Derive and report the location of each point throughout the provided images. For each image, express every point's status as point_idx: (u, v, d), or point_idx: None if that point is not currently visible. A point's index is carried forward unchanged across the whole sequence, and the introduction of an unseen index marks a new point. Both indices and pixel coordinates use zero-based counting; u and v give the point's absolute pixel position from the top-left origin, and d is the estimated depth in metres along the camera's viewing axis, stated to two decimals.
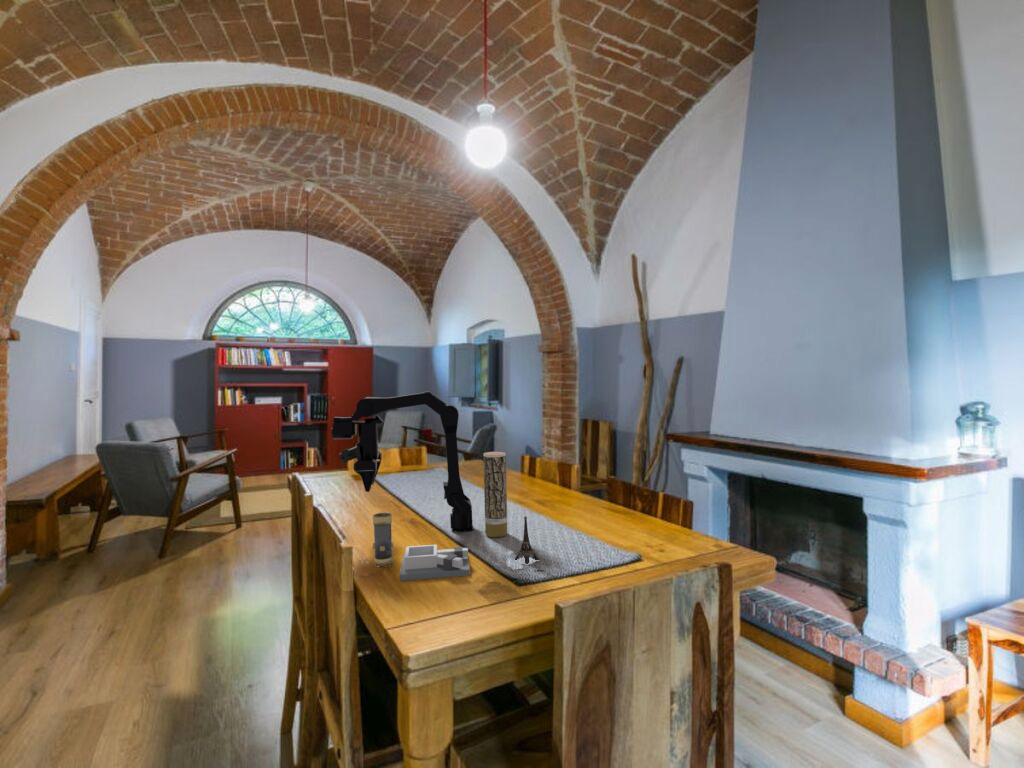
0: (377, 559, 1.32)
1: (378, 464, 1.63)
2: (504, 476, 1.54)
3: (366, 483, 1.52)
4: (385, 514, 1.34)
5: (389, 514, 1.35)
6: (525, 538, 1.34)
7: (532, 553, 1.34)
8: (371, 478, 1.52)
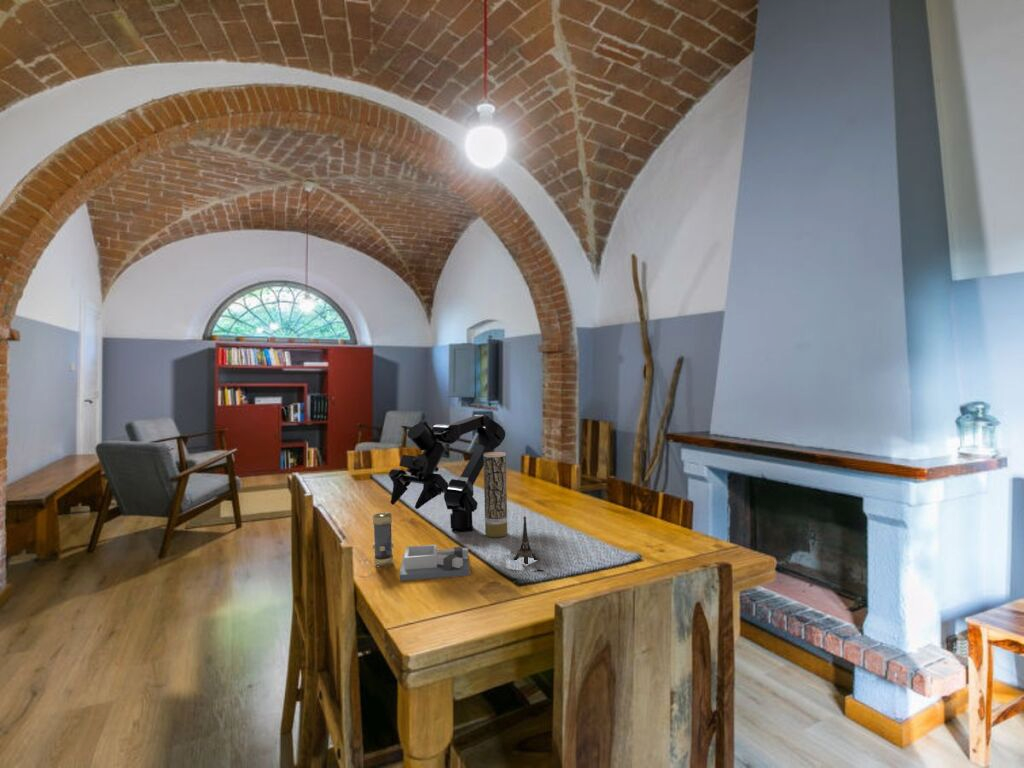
0: (377, 559, 1.32)
1: (405, 489, 1.49)
2: (504, 476, 1.54)
3: (422, 499, 1.39)
4: (385, 514, 1.34)
5: (389, 514, 1.35)
6: (524, 538, 1.34)
7: (531, 553, 1.34)
8: (429, 498, 1.41)
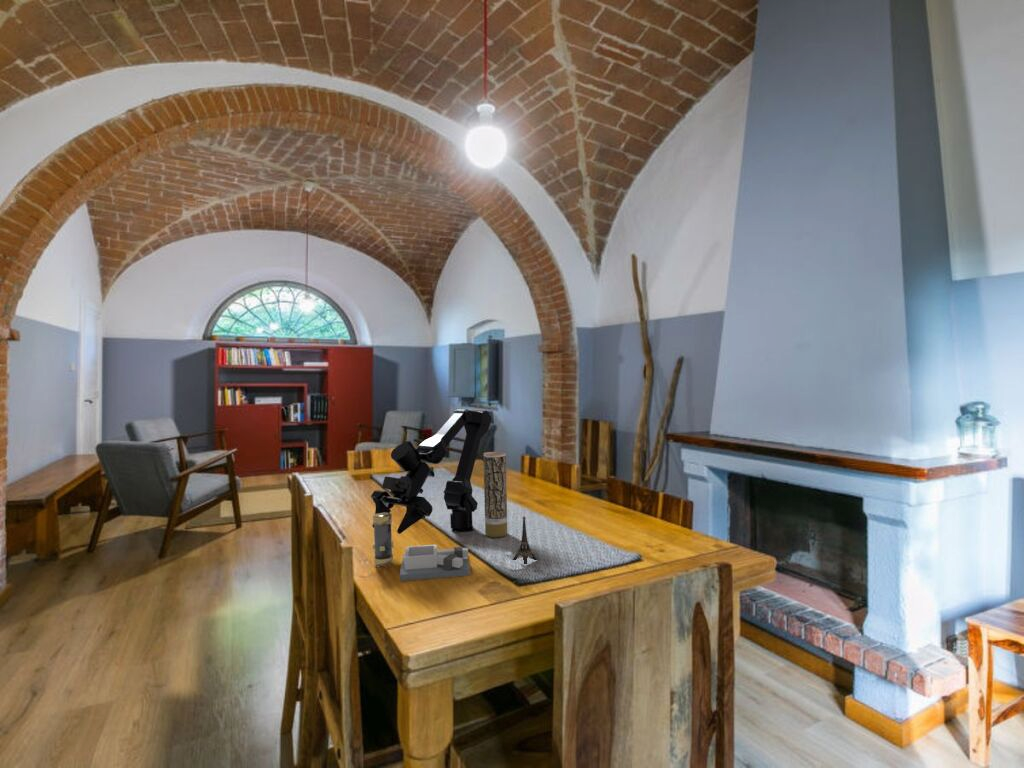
0: (377, 559, 1.32)
1: (388, 511, 1.43)
2: (504, 476, 1.54)
3: (405, 524, 1.34)
4: (385, 514, 1.34)
5: (389, 514, 1.35)
6: (523, 538, 1.34)
7: (530, 553, 1.34)
8: (412, 522, 1.35)
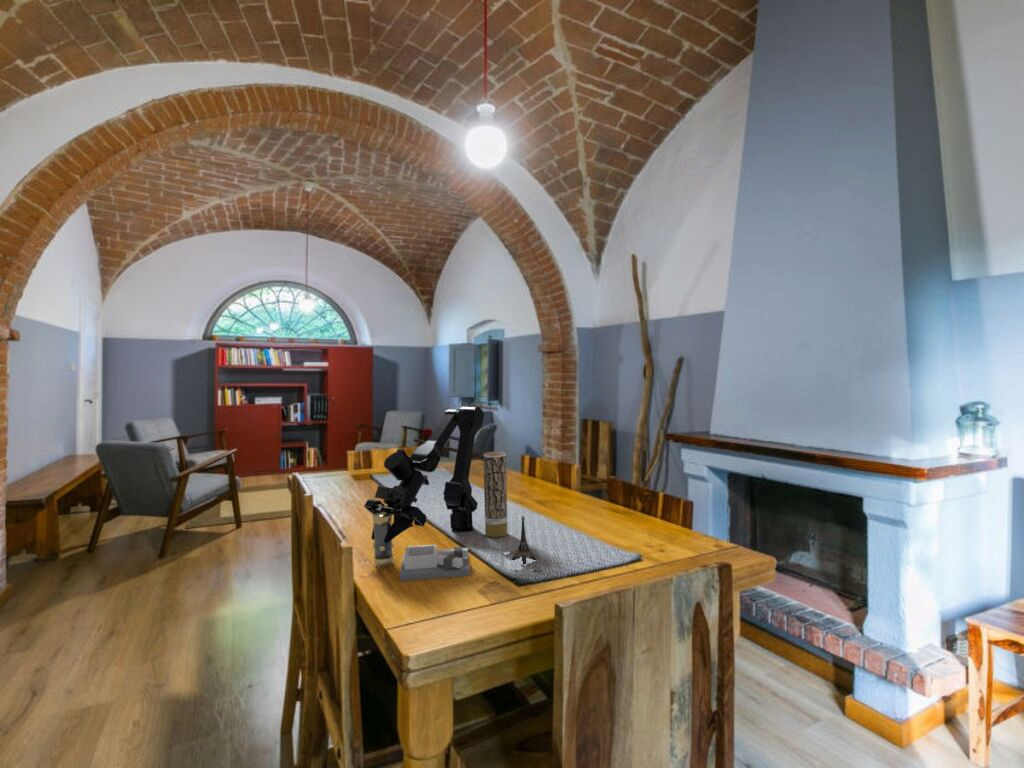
0: (377, 559, 1.32)
1: None
2: (504, 476, 1.54)
3: (393, 533, 1.33)
4: (385, 514, 1.34)
5: (389, 514, 1.35)
6: (522, 538, 1.34)
7: (529, 553, 1.34)
8: (400, 531, 1.34)
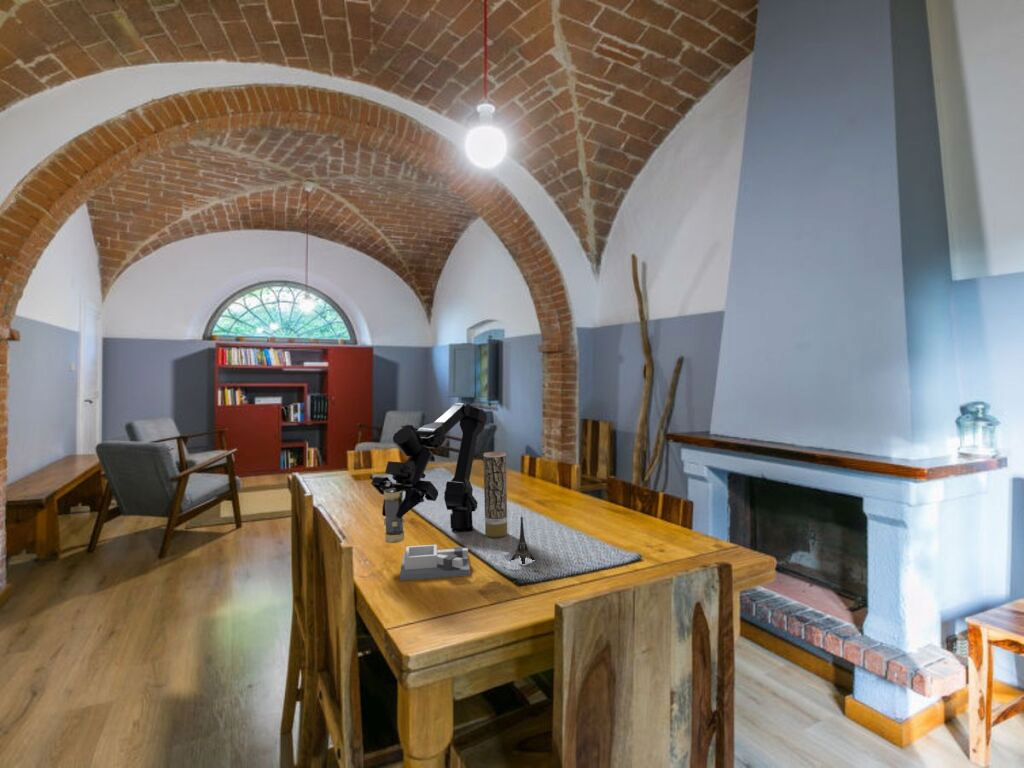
0: (389, 535, 1.31)
1: None
2: (504, 476, 1.54)
3: (405, 508, 1.31)
4: (396, 490, 1.33)
5: (400, 489, 1.33)
6: (521, 538, 1.34)
7: (528, 553, 1.34)
8: (412, 506, 1.33)
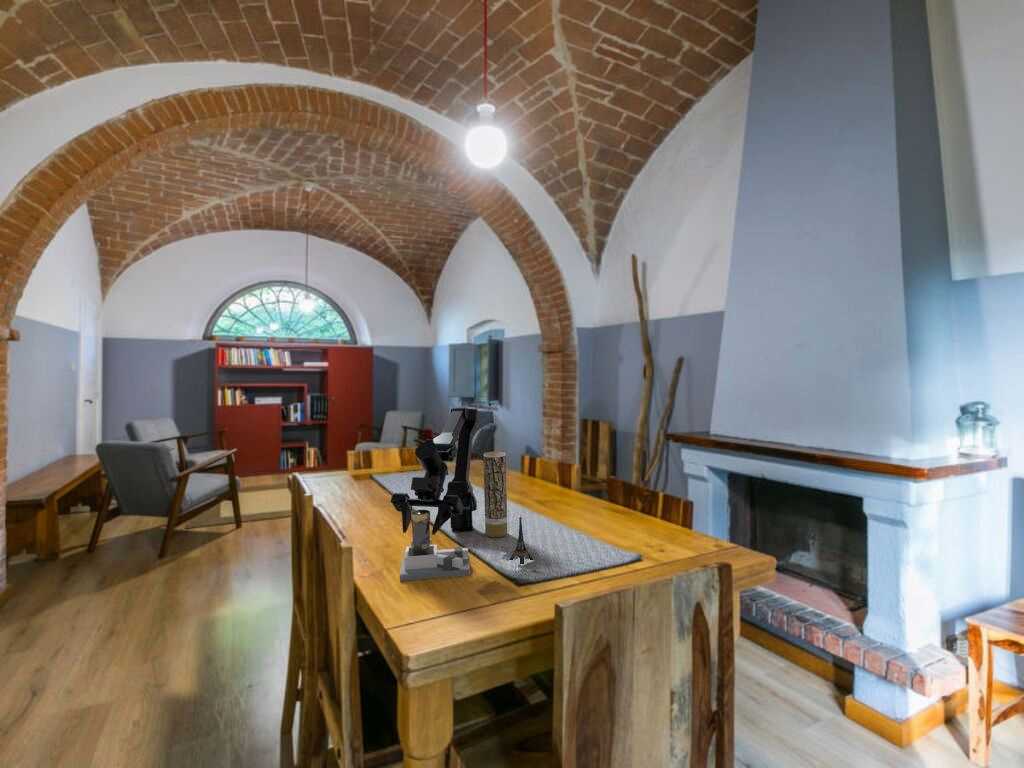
0: None
1: None
2: (504, 476, 1.54)
3: (439, 524, 1.30)
4: (423, 511, 1.31)
5: (427, 511, 1.31)
6: (520, 539, 1.34)
7: (527, 554, 1.34)
8: (443, 521, 1.32)
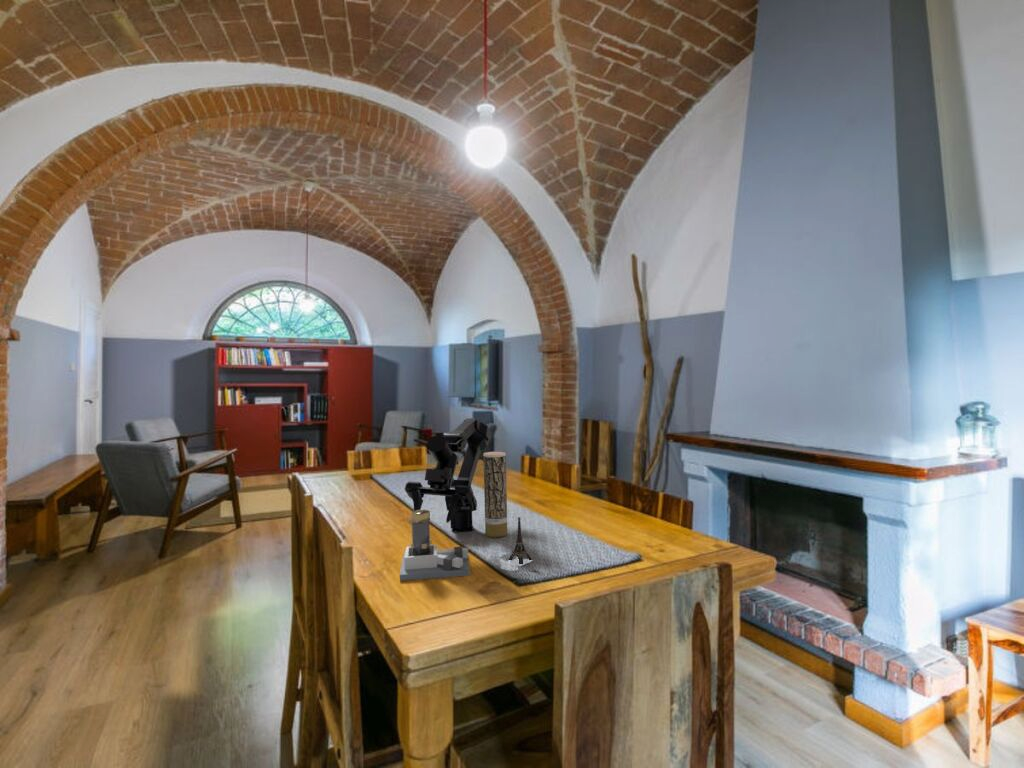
0: None
1: (422, 501, 1.46)
2: (504, 476, 1.54)
3: (452, 512, 1.40)
4: (423, 511, 1.31)
5: (426, 511, 1.32)
6: (519, 539, 1.34)
7: (526, 554, 1.34)
8: (456, 510, 1.42)
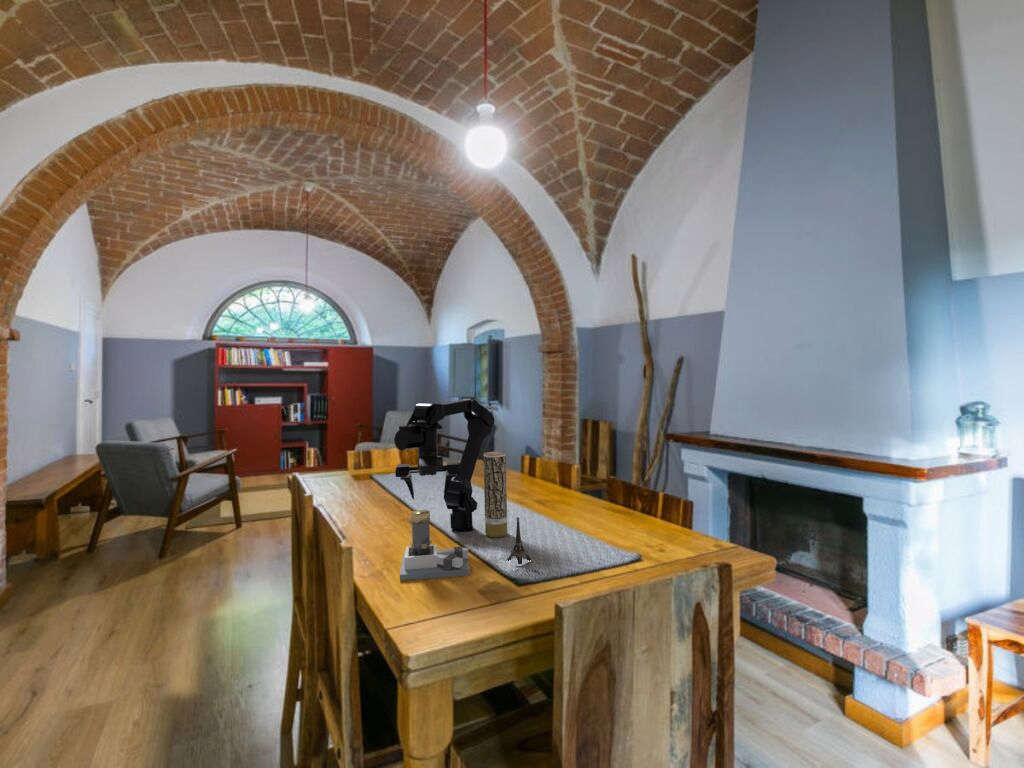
0: None
1: (411, 476, 1.52)
2: (504, 476, 1.54)
3: (447, 488, 1.51)
4: (423, 511, 1.31)
5: (426, 511, 1.32)
6: (517, 539, 1.34)
7: (524, 554, 1.34)
8: None
